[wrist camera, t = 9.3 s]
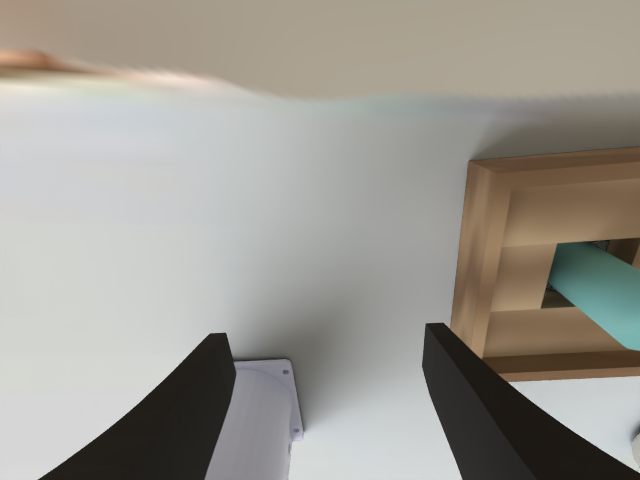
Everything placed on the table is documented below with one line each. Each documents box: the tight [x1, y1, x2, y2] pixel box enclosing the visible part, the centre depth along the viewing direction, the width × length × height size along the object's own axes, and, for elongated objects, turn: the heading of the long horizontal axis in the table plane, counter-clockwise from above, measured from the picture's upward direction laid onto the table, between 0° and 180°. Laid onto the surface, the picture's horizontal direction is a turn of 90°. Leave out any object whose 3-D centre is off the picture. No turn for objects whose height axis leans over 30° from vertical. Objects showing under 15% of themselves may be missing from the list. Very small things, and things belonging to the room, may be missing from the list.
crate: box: [450, 146, 640, 382], centre depth 18 cm, size 14×14×3 cm
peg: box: [547, 241, 640, 351], centre depth 17 cm, size 3×3×6 cm
